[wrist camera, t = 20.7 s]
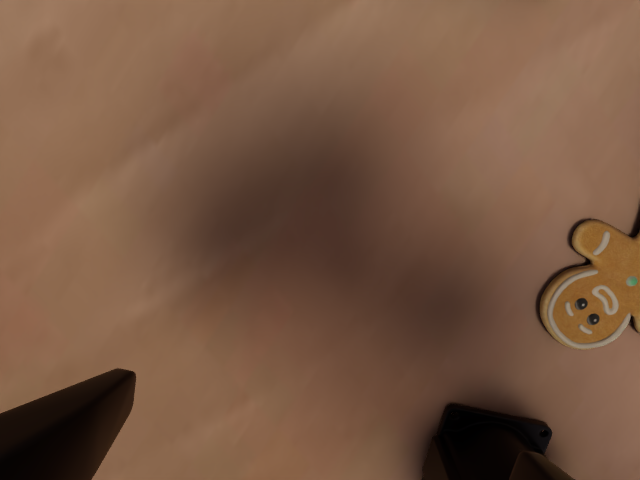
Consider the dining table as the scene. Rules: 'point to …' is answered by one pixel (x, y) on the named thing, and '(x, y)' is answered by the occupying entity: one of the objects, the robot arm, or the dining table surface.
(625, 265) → the cookie
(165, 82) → the dining table surface
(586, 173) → the dining table surface
